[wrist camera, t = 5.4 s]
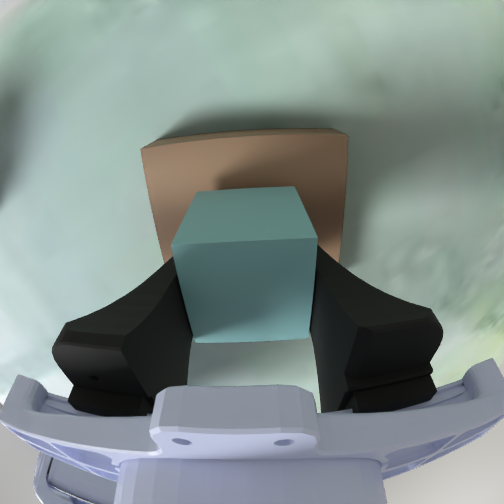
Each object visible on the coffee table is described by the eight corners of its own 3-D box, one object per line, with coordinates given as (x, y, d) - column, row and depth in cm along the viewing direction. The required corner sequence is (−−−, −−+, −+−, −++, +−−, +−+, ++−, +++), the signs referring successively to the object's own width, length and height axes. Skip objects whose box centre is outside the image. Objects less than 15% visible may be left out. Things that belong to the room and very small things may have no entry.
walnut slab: (323, 271, 20) (333, 299, 17) (184, 279, 20) (176, 306, 18) (331, 127, 15) (348, 135, 12) (158, 138, 15) (140, 149, 12)
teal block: (293, 267, 15) (308, 338, 11) (208, 271, 15) (195, 342, 11) (294, 186, 13) (317, 237, 8) (196, 191, 13) (170, 245, 9)
